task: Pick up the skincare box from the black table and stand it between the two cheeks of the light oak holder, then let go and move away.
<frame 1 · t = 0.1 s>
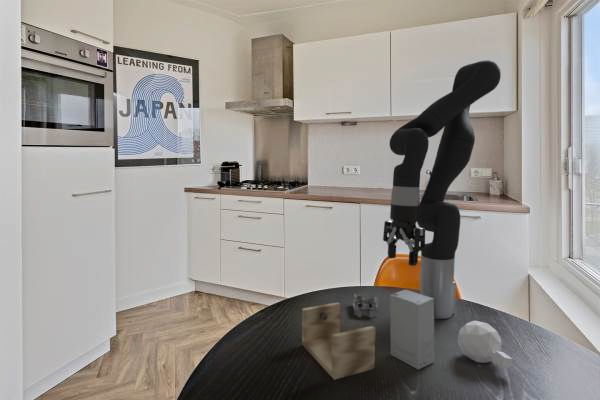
hand: (401, 261, 102), 17 cm above the table, fingers open, 8 cm apart
perfume bottle: (481, 364, 82), on the table
skincare box: (410, 359, 84), on the table
holder: (336, 355, 85), on the table
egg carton: (365, 312, 111), on the table
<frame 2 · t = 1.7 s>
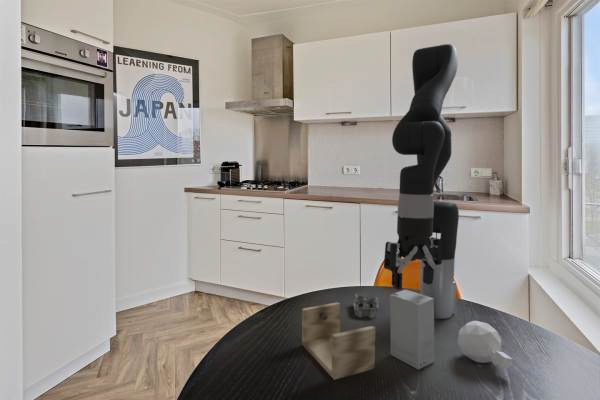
hand: (412, 286, 82), 17 cm above the table, fingers open, 8 cm apart
nothing on the table moved.
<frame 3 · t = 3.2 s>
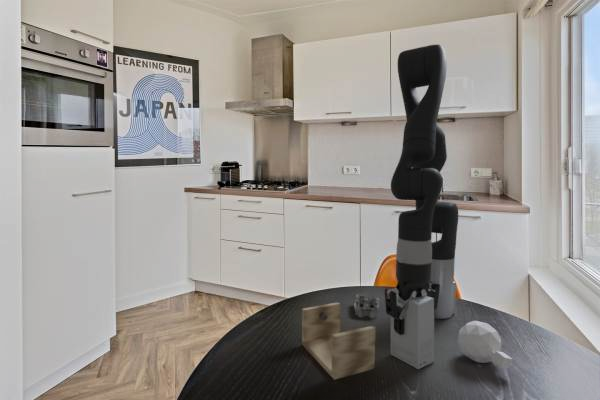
hand: (411, 330, 83), 7 cm above the table, fingers closed on skincare box, 6 cm apart
skincare box: (410, 359, 84), on the table, touching gripper
everything else where it was.
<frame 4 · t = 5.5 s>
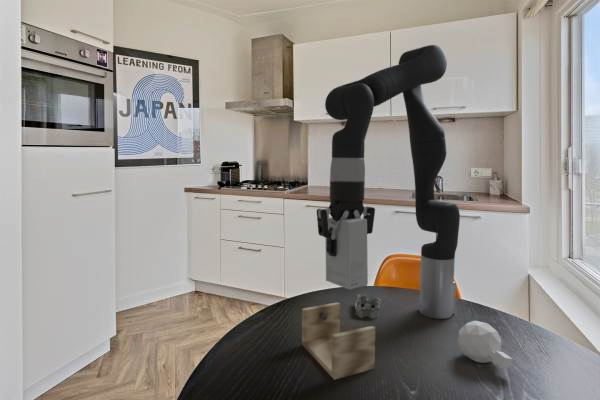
hand: (345, 253, 82), 24 cm above the table, fingers closed on skincare box, 6 cm apart
skincare box: (345, 284, 83), point 17 cm above the table, touching gripper
everything else where it was.
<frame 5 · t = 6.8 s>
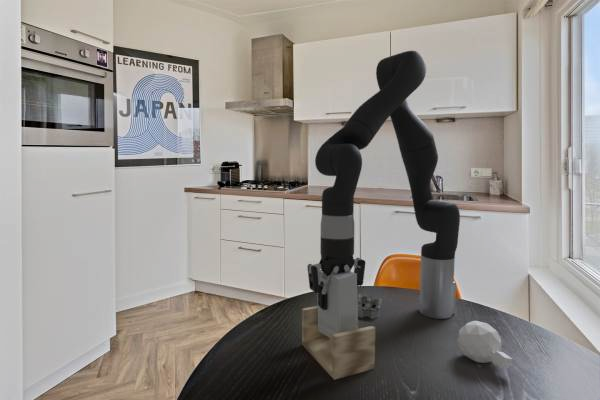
hand: (336, 306, 84), 12 cm above the table, fingers closed on skincare box, 6 cm apart
skincare box: (336, 335, 85), point 5 cm above the table, touching gripper
when the fingers open (9 cm above the table, at t = 8.0 s): skincare box stays where it is, resting on holder.
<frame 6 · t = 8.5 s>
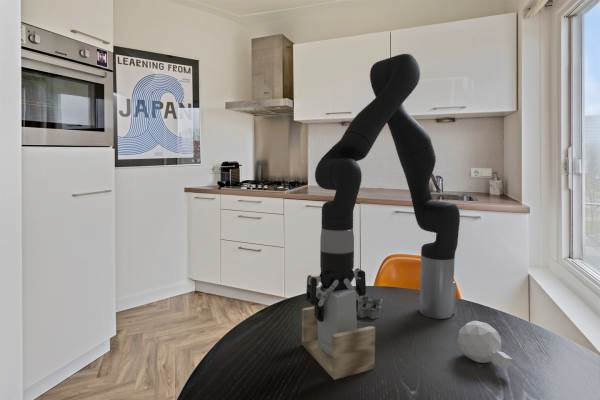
hand: (336, 317, 84), 9 cm above the table, fingers open, 8 cm apart
skincare box: (336, 351, 85), point 1 cm above the table, touching holder
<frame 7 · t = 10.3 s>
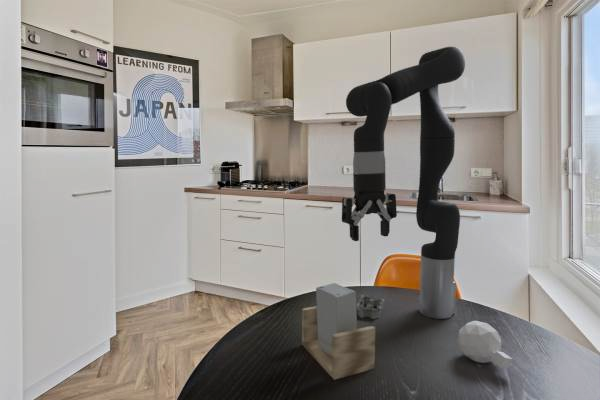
hand: (370, 238, 89), 26 cm above the table, fingers open, 8 cm apart
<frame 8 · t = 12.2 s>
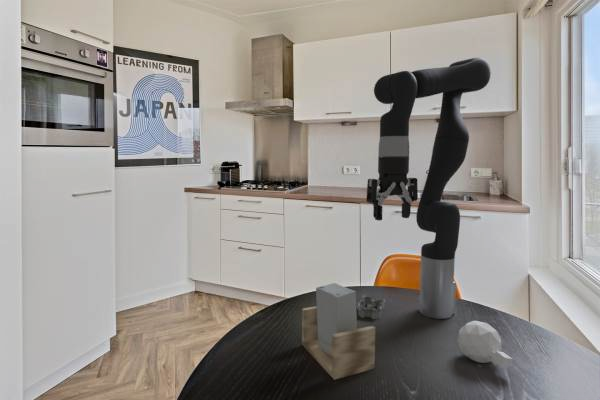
hand: (392, 218, 94), 30 cm above the table, fingers open, 8 cm apart
at the end: skincare box inside the target area on the holder (0.0 cm from its centre), point 1.0 cm above the holder's base; skincare box tilted 0°; the gripper is holding nothing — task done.
